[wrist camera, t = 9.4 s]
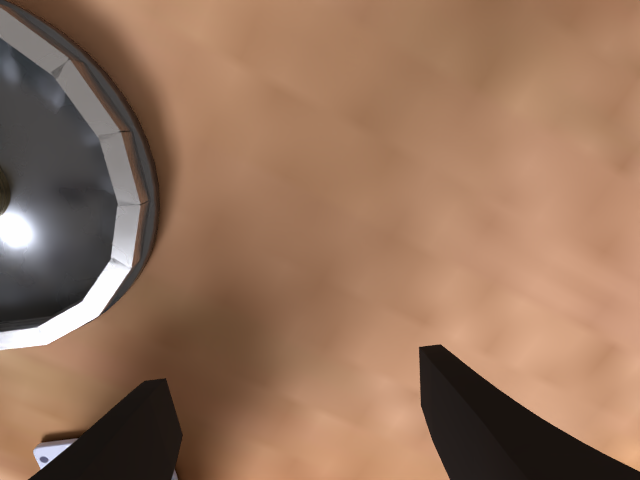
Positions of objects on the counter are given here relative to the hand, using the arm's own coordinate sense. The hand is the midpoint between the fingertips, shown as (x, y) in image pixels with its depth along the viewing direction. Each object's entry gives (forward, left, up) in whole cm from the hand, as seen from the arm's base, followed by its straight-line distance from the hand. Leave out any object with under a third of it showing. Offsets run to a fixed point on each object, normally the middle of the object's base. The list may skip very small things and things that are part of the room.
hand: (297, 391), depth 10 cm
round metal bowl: (+6, +15, -10) cm, 19 cm away
